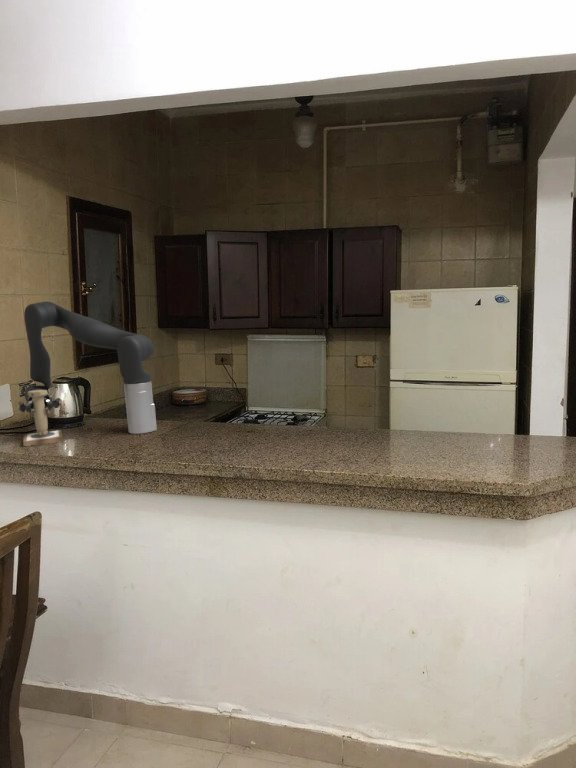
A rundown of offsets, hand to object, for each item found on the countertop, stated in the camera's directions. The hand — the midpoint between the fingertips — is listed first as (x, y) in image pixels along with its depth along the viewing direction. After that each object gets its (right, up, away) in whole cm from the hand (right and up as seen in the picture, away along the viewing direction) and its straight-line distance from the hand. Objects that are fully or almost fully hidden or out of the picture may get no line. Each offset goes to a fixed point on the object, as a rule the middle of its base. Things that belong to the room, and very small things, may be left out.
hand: (39, 408), depth 197 cm
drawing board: (0, -11, +4) cm, 12 cm away
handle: (0, -9, +4) cm, 10 cm away
